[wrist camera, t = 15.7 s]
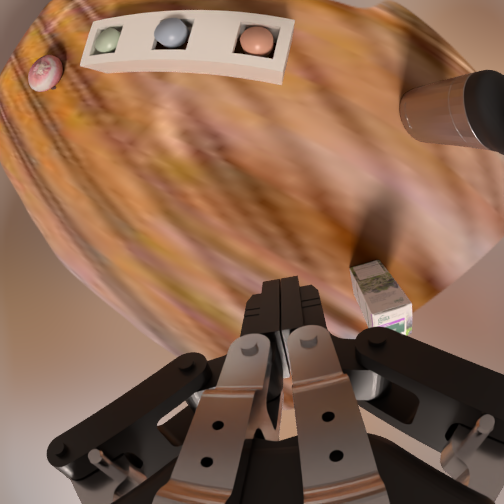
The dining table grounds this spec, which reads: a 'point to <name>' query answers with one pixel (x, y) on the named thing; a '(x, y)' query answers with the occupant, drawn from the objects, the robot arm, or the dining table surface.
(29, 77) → the onion
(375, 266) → the syrup box
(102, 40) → the sage button
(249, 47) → the terracotta button
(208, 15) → the block
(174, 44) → the slate button
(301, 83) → the dining table surface
